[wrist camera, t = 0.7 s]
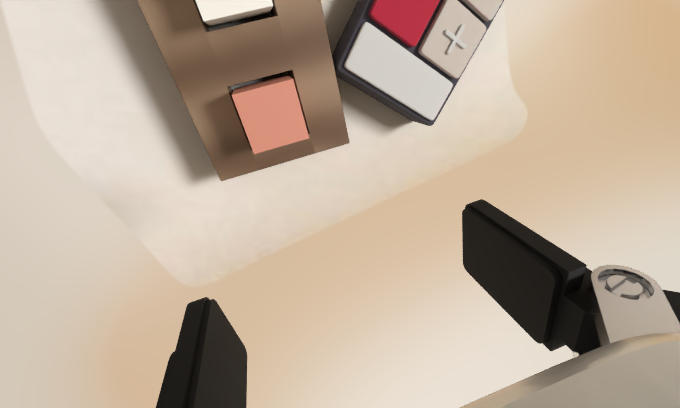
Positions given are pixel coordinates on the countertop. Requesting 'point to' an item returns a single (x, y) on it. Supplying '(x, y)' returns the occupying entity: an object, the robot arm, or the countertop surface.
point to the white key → (231, 10)
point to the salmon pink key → (270, 113)
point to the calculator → (411, 50)
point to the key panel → (250, 76)
